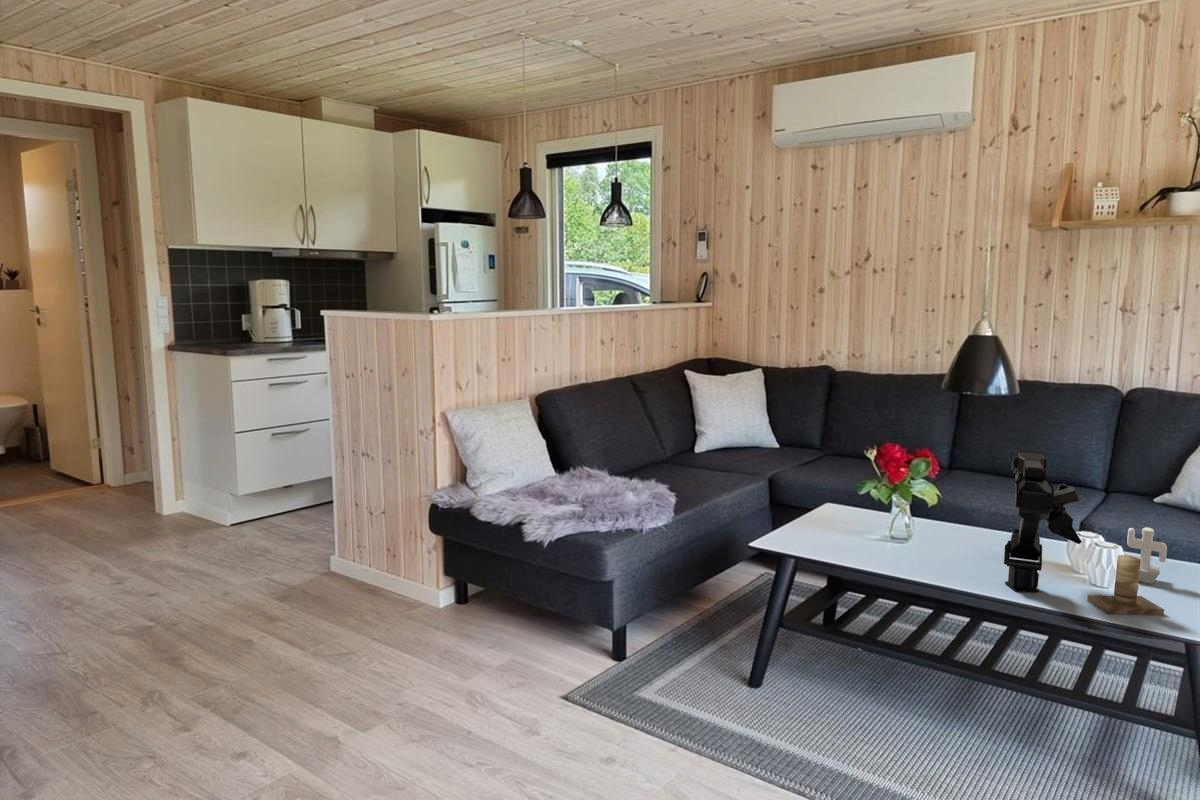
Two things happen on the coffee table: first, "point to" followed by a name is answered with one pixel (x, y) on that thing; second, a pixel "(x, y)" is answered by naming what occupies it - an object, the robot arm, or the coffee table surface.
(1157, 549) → the figurine
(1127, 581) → the oak peg
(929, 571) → the coffee table surface
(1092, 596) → the walnut board
